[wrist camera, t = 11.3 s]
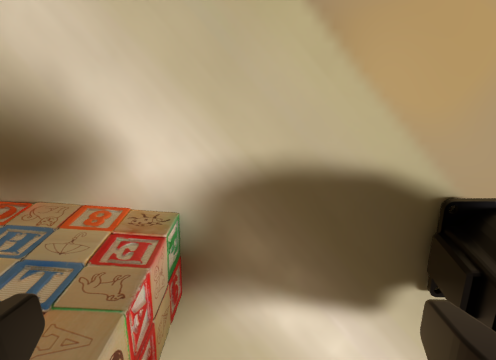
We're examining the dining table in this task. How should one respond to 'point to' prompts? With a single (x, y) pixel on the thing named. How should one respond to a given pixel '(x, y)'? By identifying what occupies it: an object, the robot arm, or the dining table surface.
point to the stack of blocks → (93, 277)
